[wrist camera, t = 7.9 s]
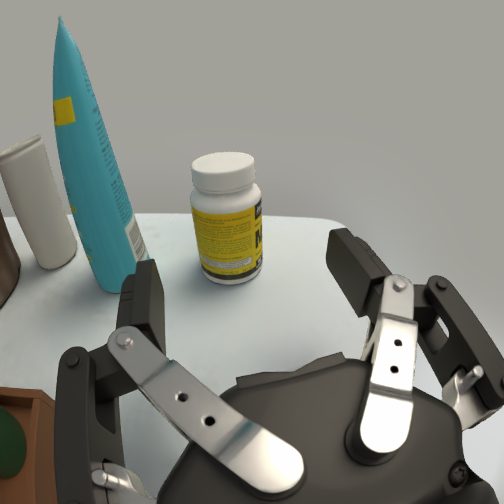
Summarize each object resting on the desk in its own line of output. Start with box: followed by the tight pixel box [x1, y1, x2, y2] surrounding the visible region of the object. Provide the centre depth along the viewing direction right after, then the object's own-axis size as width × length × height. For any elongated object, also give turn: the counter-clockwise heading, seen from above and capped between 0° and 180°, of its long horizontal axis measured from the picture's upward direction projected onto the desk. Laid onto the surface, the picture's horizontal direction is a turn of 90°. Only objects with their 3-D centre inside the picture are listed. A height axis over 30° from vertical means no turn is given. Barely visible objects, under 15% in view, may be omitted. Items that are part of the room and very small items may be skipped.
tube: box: [53, 16, 150, 293], centre depth 16 cm, size 7×5×19 cm, turn 35°
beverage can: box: [0, 134, 77, 269], centre depth 21 cm, size 5×5×12 cm
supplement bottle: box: [190, 152, 262, 285], centre depth 20 cm, size 5×5×8 cm
